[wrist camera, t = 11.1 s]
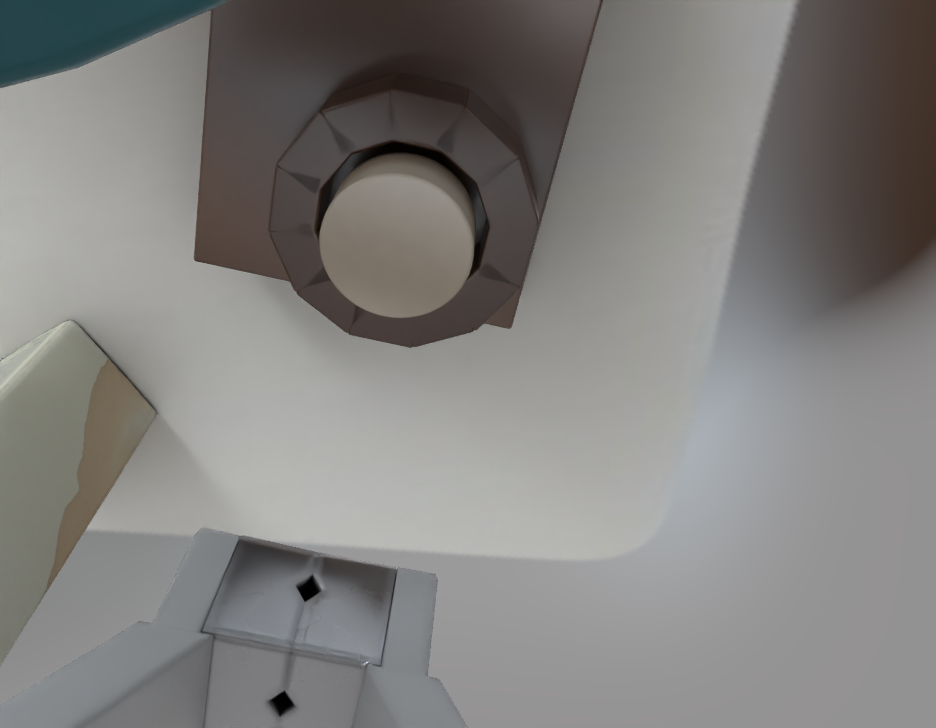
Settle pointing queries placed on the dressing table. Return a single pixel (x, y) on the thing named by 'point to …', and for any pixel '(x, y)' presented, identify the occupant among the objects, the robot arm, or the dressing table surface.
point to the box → (56, 459)
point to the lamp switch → (399, 235)
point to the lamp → (79, 31)
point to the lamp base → (385, 134)
